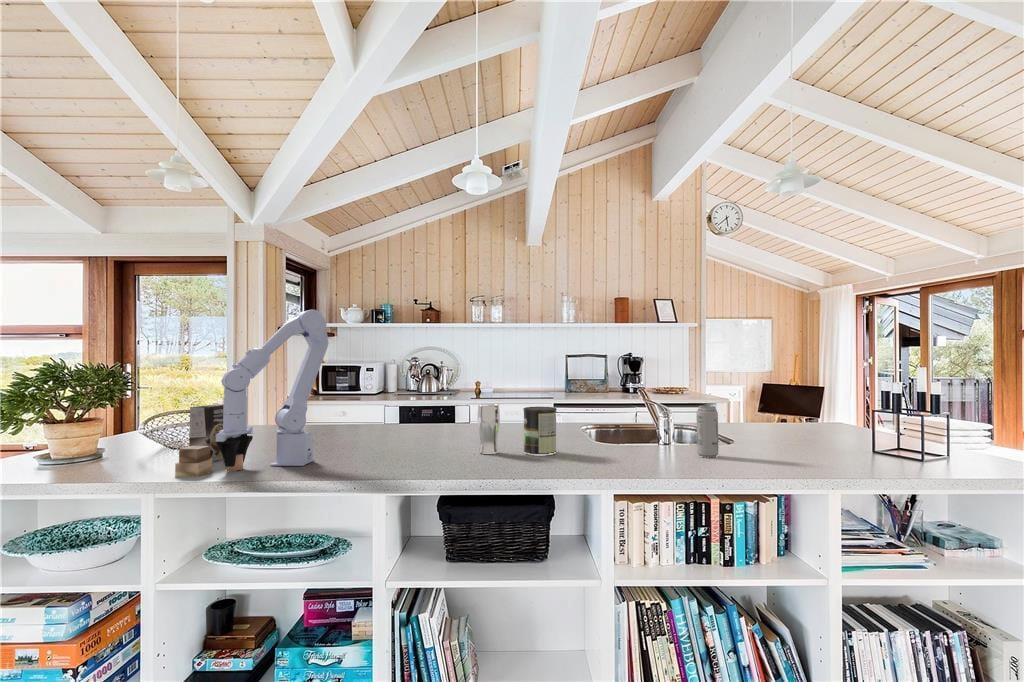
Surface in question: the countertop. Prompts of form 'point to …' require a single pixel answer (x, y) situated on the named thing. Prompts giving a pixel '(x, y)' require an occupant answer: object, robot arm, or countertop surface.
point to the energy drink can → (707, 431)
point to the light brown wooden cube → (237, 463)
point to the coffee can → (539, 430)
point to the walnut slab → (194, 454)
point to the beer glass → (488, 427)
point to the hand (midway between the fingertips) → (234, 464)
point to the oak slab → (193, 468)
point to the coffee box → (206, 428)
